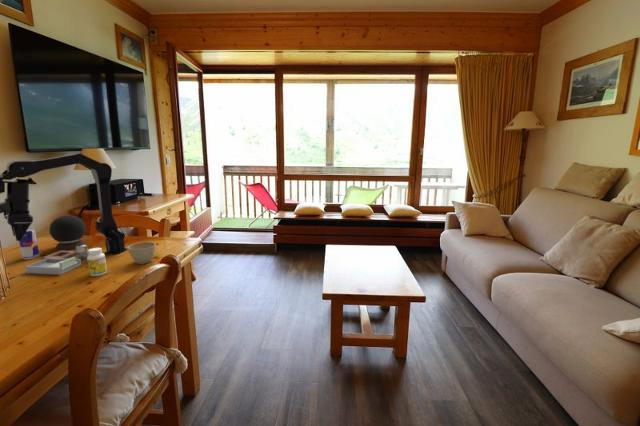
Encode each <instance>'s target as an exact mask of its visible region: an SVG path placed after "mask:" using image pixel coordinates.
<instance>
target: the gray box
mask: <svg viewBox="0 0 640 426" xmlns="http://www.w3.org/2000/svg"><path fill="white" fill-rule="evenodd" d="M64 260H67V258H46V259H44V260H43V259H40V260H38V261H36V262H33V263H31V264H28V265H25V266H24V268H25V272H26V274H37V275H57V276H58V275H59V276H60V275H63V274H65V273H67V272H70V271H72V270H74V269H76V268H78V267H81V266H82V259H78V258H76V261H78V263H77V264H75V265H72V266H70V267H68V268H65V269H63V270H62V268H61V267H48V266H50V265H53V264H55V263H58V262H60V261H64Z"/></svg>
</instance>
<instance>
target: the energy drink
mask: <svg viewBox="0 0 640 426" xmlns="http://www.w3.org/2000/svg"><path fill="white" fill-rule="evenodd" d="M37 240H38V239H37V236H36V231H35V230H34V228H28V229H27V231H26V233H25V234H24V236H23V238H22V239H21V241H18V243H19V248H20V253H21V257H22V259H23V260H33V259H37V258H39V257H40V250H39V245H38V241H37Z"/></svg>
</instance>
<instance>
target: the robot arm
mask: <svg viewBox="0 0 640 426" xmlns="http://www.w3.org/2000/svg"><path fill="white" fill-rule="evenodd" d="M72 165H81V166H82V167H84V168H86V169H89V170H90V171H91V175H92V178H93V179H94V182H95V184H96V189H97V197H98V207H99V218H98V219H99V220H95V221H94V222H95V224H96V228H95V230H96V231H98V233H99V234H100V235H102V236H104V237H105V242H104V243H105V250H106V251H104V254H112V255H113V254H115V255H118V254H120V253H123V252H125V251H127V250H128V247H126V246H125V236H126V234H125V233H123V232H122V231H120V230H119V228H118V225H117V222H116V220H115V218H114V216H113V209H112V199H111V198H112V197H111V190H110V183H111V180H112V173H113V170H112V166H111V165H109V163H107V162H100V161H97V160H95V159H93V158H91V157H89V156H86V155H85V154H84V153H82V152H81V153H80V152H76V153H73V154H68V155H67V154H66V155H62V156H56V157H55V156H54V157H50V158H43V159H38V160H36V159H34V160H32V159H31V160H12V161H9V162H8V163H7V164H6V167H5V170H4V171H3V172H1V173H0V194H4V193H6V197H5V198H4V201H2V202H0V214H2V215H3V218H4V219H6V221H7V222H6V223H7V224H8V225H10V228H11V231H12V234H13V235H12V236H14V237H15V240H16V241H17V242H19V241H21V239H22V238H23V236H24V234H25V233H26V231H27V229H30V228H29V227H30V226H31V225H32V224H33V222H34V217H33V216H32V215H31V214H30V210H29V209H30V208H29V205H30V204H29V203H30V196H29V195H30V185H37V182H36V181H34V180H33V178H32V177H29V176H32V175H35V174H37V173H39V172H42V171H47V170H51V169H52V170H53V169H57V168H62V167H67V166H72ZM27 177H28V178H27ZM13 179H14V180H13ZM5 190H6V191H5Z"/></svg>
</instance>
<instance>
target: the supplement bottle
mask: <svg viewBox="0 0 640 426" xmlns="http://www.w3.org/2000/svg"><path fill="white" fill-rule="evenodd" d="M87 251H88V257H87V258H86V260H87V264H88V269H89V275H90V276H91V277H99V276H103V275H105V274H107V273H108V266H107V261H106V255H105V253H103V250H102V248H101V247H93V248H90V249H87Z"/></svg>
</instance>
